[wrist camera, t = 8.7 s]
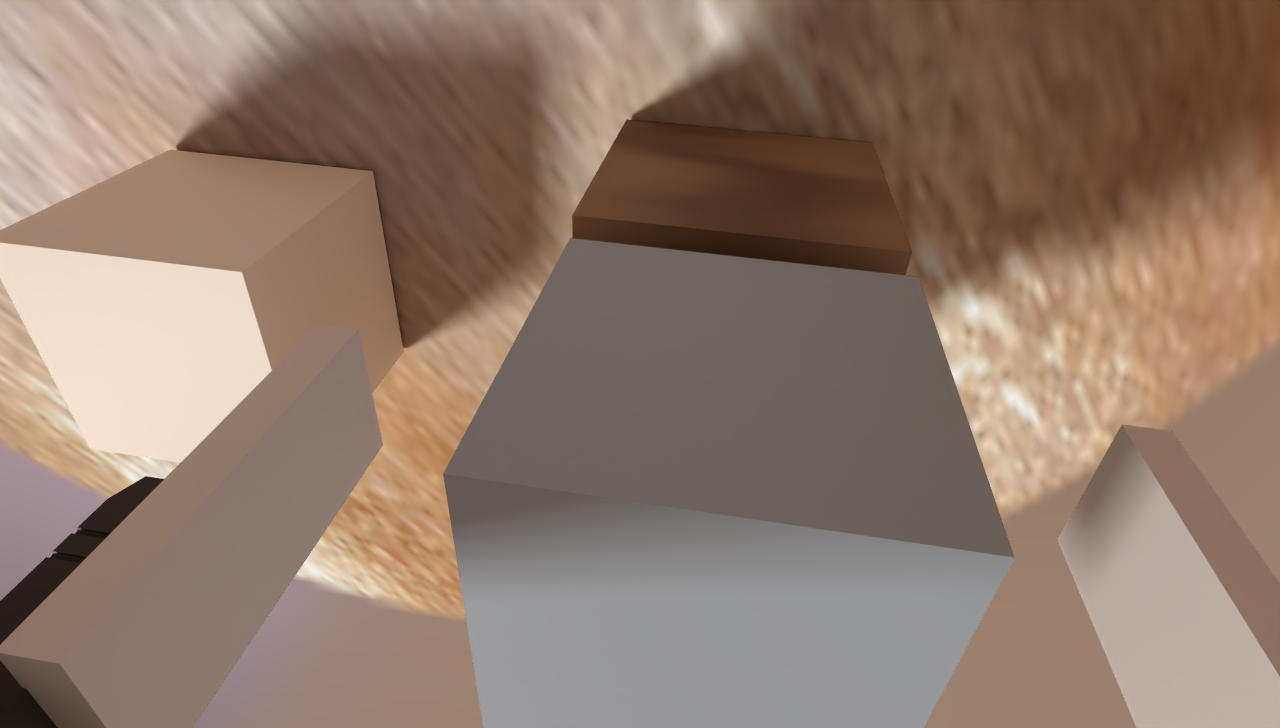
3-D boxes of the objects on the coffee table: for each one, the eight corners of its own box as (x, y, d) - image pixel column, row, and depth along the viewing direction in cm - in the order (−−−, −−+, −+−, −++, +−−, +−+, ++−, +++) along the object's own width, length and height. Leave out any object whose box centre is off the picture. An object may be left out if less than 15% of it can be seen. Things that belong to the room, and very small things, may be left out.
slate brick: (572, 481, 16) (486, 748, 11) (570, 237, 13) (442, 473, 8) (843, 520, 16) (873, 820, 11) (918, 276, 12) (1013, 558, 7)
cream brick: (229, 328, 24) (89, 448, 19) (170, 149, 20) (-21, 239, 15) (403, 351, 23) (305, 481, 18) (373, 171, 20) (241, 272, 15)
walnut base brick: (619, 323, 21) (568, 475, 16) (626, 119, 18) (565, 226, 13) (823, 349, 21) (841, 513, 15) (872, 142, 17) (916, 265, 12)
